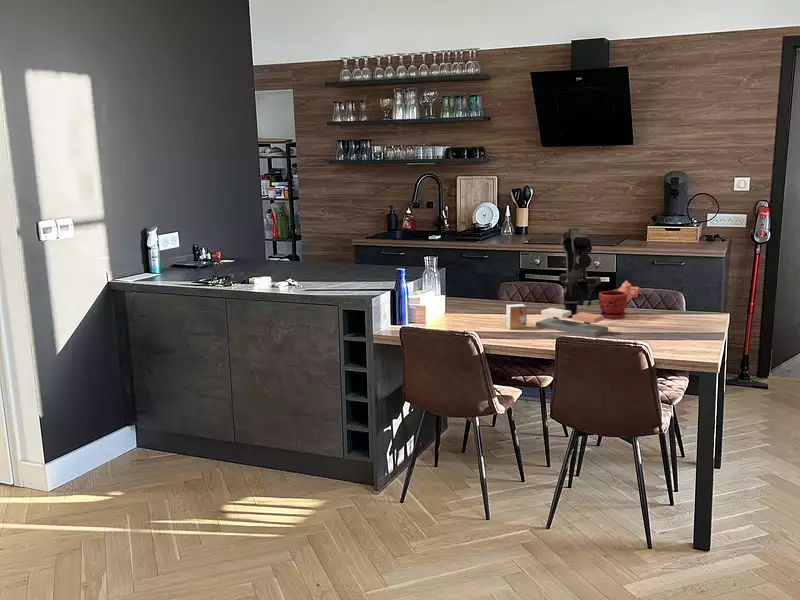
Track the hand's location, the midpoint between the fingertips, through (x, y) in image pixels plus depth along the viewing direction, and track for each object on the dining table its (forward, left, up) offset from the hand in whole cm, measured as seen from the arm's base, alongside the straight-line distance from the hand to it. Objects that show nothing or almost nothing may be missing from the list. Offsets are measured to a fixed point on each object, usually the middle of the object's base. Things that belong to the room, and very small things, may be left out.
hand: (579, 297), depth 360 cm
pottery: (-74, -12, -13) cm, 76 cm away
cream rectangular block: (+8, -7, -9) cm, 14 cm away
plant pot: (-25, +4, -13) cm, 29 cm away
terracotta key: (+8, +9, -9) cm, 15 cm away
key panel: (+8, +1, -13) cm, 15 cm away
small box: (+21, -20, -13) cm, 32 cm away
